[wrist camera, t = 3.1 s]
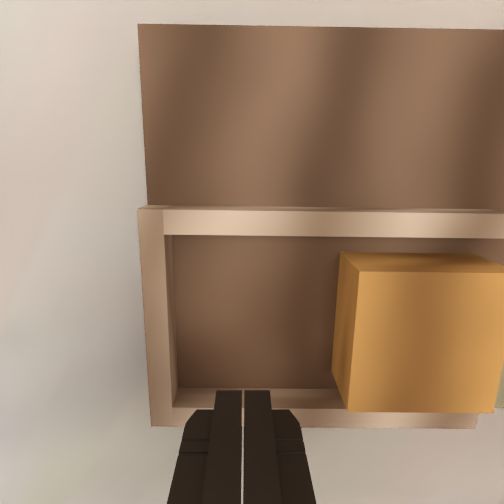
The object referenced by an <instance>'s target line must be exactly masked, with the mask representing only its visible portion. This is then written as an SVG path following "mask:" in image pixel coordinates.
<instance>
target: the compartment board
mask: <svg viewBox="0 0 504 504" xmlns="http://www.w3.org/2000/svg"><path fill="white" fill-rule="evenodd" d="M138 40H139V58H140V75H141V93H142V111H143V129H144V146H145V164H146V182H147V199H148V205H146V206H144V207H142V208H139V209H137V212H138V227H139V243H140V259H141V275H142V290H143V306H144V322H145V338H146V353H147V369H148V385H149V401H150V416H151V426H180V427H185V424H186V422H187V421H188V419H189V418H190V417H191V416H192V414H193V413H194V412H195V411H196V409H214V404H215V396H216V390H242V427H244V390H270V396H271V406H272V409H289V410H290V411H291V412H292V414H293V415H294V416H295V417H296V419H297V420H298V421H299V423H300V427H311V428H442V429H475V428H476V423H477V417H478V413H400V412H347V410H346V408H345V405H344V402H343V400H342V397H341V395H340V392H339V389H338V387H337V384H336V382H335V379H334V377H333V374H332V371H331V368H332V355H333V341H334V328H335V314H336V301H337V287H338V274H339V260H340V252H393V253H473V254H476V255H478V256H481V257H483V258H485V259H488V260H490V261H493V262H495V263H498V264H500V265H502V266H504V30H484V29H423V28H363V27H302V26H241V25H181V24H138ZM494 408H504V363H503V368H502V373H501V377H500V382H499V387H498V392H497V397H496V402H495V407H494Z"/></svg>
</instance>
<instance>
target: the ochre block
mask: <svg viewBox="0 0 504 504" xmlns="http://www.w3.org/2000/svg"><path fill="white" fill-rule="evenodd" d="M503 363H504V266H502V265H500V264H498V263H495V262H493V261H490V260H488V259H485V258H483V257H481V256H478V255H476V254H473V253H393V252H340V260H339V274H338V287H337V301H336V314H335V328H334V341H333V355H332V368H331V371H332V374H333V377H334V379H335V382H336V384H337V387H338V389H339V392H340V395H341V397H342V400H343V402H344V405H345V408H346V410H347V412H400V413H493V412H494V407H495V402H496V397H497V392H498V387H499V382H500V377H501V373H502V368H503Z"/></svg>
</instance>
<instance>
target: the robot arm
mask: <svg viewBox="0 0 504 504" xmlns="http://www.w3.org/2000/svg"><path fill="white" fill-rule="evenodd" d="M241 458H242V390H216V396H215V404H214V409H196V411H195V412H194V413H193V414H192V416H191V417H190V418H189V419H188V421H187V422H186V424H185V428H184V432H183V437H182V442H181V445H180V449H179V456H178V458H177V462H176V467H175V471H174V475H173V480H172V484H171V488H170V492H169V497H168V501H167V504H241ZM243 504H316V500H315V495H314V491H313V486H312V481H311V476H310V471H309V466H308V462H307V457H306V453H305V447H304V442H303V437H302V432H301V428H300V423H299V421H298V420H297V419H296V417H295V416H294V415H293V414H292V412H291V411H290V410H289V409H272V406H271V396H270V390H244V491H243Z"/></svg>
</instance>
